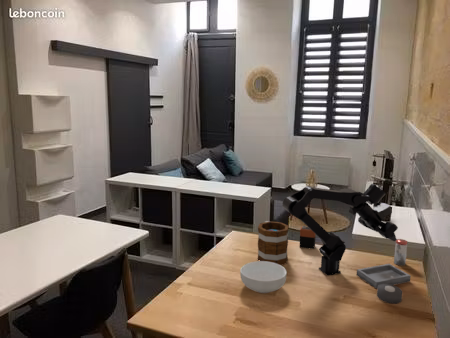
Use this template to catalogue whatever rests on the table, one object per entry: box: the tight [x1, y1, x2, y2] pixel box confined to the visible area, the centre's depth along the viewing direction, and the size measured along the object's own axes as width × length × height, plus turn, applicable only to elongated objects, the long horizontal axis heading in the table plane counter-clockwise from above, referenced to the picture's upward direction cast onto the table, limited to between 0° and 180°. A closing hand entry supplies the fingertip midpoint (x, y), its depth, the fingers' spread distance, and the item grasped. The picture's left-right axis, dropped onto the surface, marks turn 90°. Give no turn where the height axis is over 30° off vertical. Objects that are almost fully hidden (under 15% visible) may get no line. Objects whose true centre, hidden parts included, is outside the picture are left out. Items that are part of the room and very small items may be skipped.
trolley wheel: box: [376, 284, 403, 304], centre depth 130 cm, size 8×8×4 cm
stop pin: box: [393, 238, 408, 266], centre depth 156 cm, size 4×4×10 cm
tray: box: [356, 263, 412, 289], centre depth 144 cm, size 16×11×2 cm
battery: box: [299, 225, 317, 250], centre depth 174 cm, size 4×7×10 cm, turn 70°
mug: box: [257, 220, 289, 266], centre depth 163 cm, size 20×14×15 cm
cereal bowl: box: [239, 260, 288, 294], centre depth 136 cm, size 17×17×7 cm
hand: (388, 236), depth 153 cm, fingers open, 9 cm apart
